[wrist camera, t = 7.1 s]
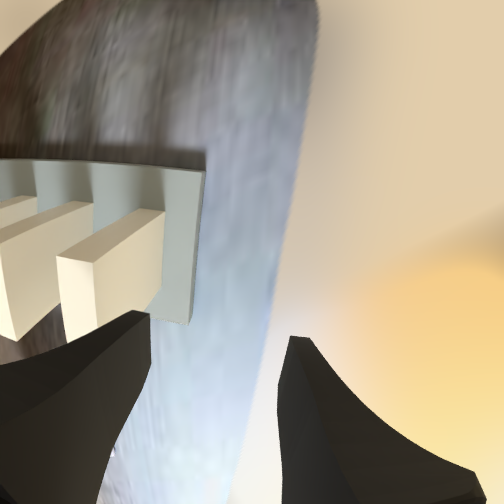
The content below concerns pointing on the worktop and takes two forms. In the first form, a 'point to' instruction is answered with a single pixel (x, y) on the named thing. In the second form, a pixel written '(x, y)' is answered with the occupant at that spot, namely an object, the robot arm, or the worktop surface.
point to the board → (125, 211)
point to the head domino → (111, 272)
